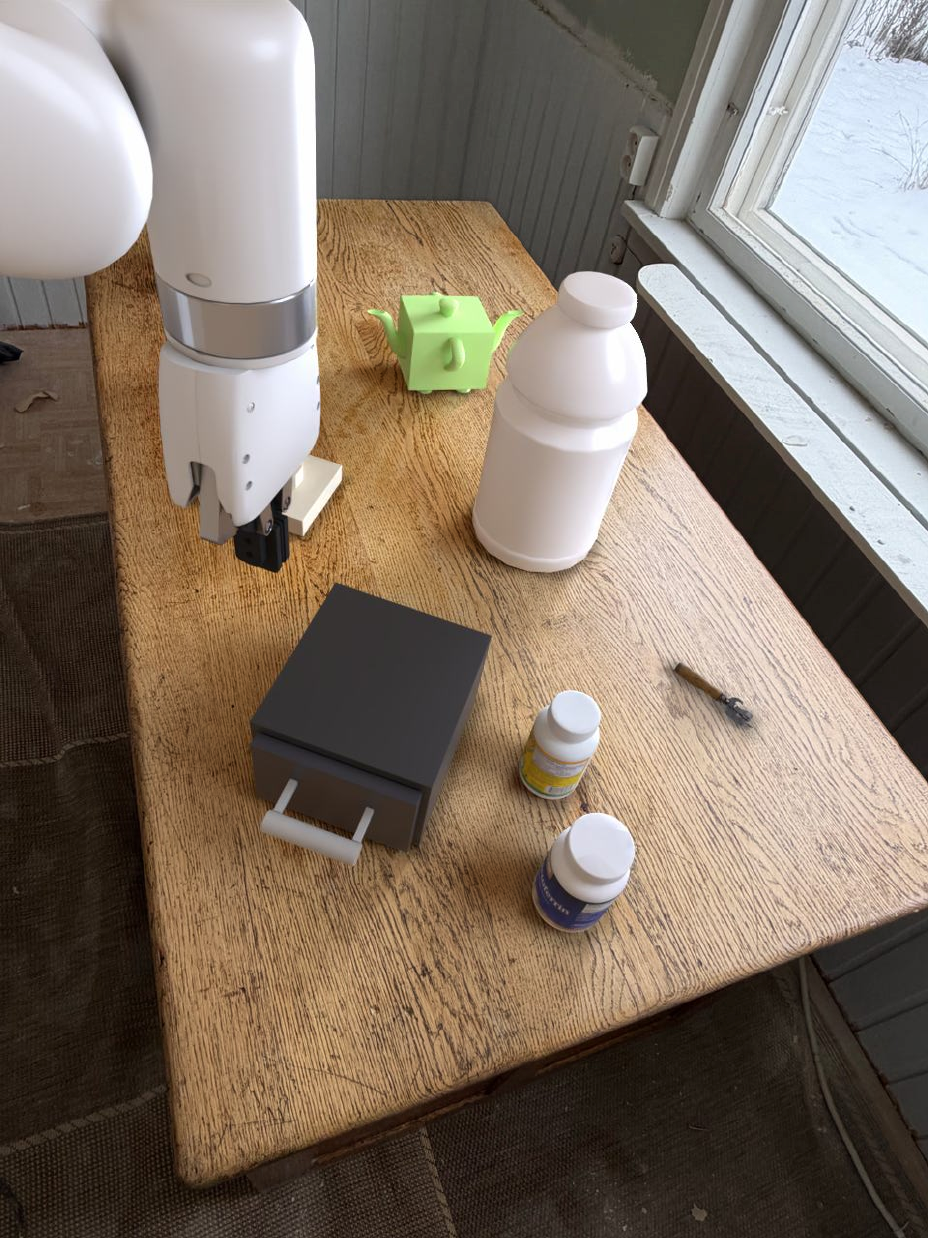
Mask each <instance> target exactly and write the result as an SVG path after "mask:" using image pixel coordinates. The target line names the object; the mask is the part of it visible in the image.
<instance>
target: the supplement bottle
mask: <svg viewBox="0 0 928 1238" xmlns="http://www.w3.org/2000/svg"><path fill="white" fill-rule="evenodd" d="M601 719H602V713H601V709H600V708H599V705H598V704H597V702H596V701H595V700H594V699H593V698H592V697H591V696H589V695H588V694H586V693H584V692H582V691H579V690H575V689H573V690H564V691H561V692H559V693H558V694H556V695H555V696H554V697H553V698H552V701H551V702H550V704H548V705H546V706H545V707H543V708H542V709H541V710H540V711H539V712H538V714H536V717H535V719H534V722H533V724H532V727H531V730H530V732H529V735H528V738H527V740H526V742H525V745H524V748H523V750H522V752H521V755H520V759H519V763H518V770H519V771H518V772H519V778H520V779H521V781H522V783H523V785H524V786H525V787H526V789H527V790H528V791H530V792H531V793H533V794H534V795H535V796H537V797H539V798H542V799H547V800H560V799H564V798H567V797H568V796H569V795H571V794H572V793H573V792H574V791H575V790H576V788H577V787H578V785H579V783H580V781H581V779H582V777H583V776H584V774H585V771H586V769H587V768H588V766H589V764H590V762H591V760H592V758H593V756H594V754H595V753H596V750H597V749H598V746H599V743H600V730H599V725H600V723H601Z"/></svg>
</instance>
